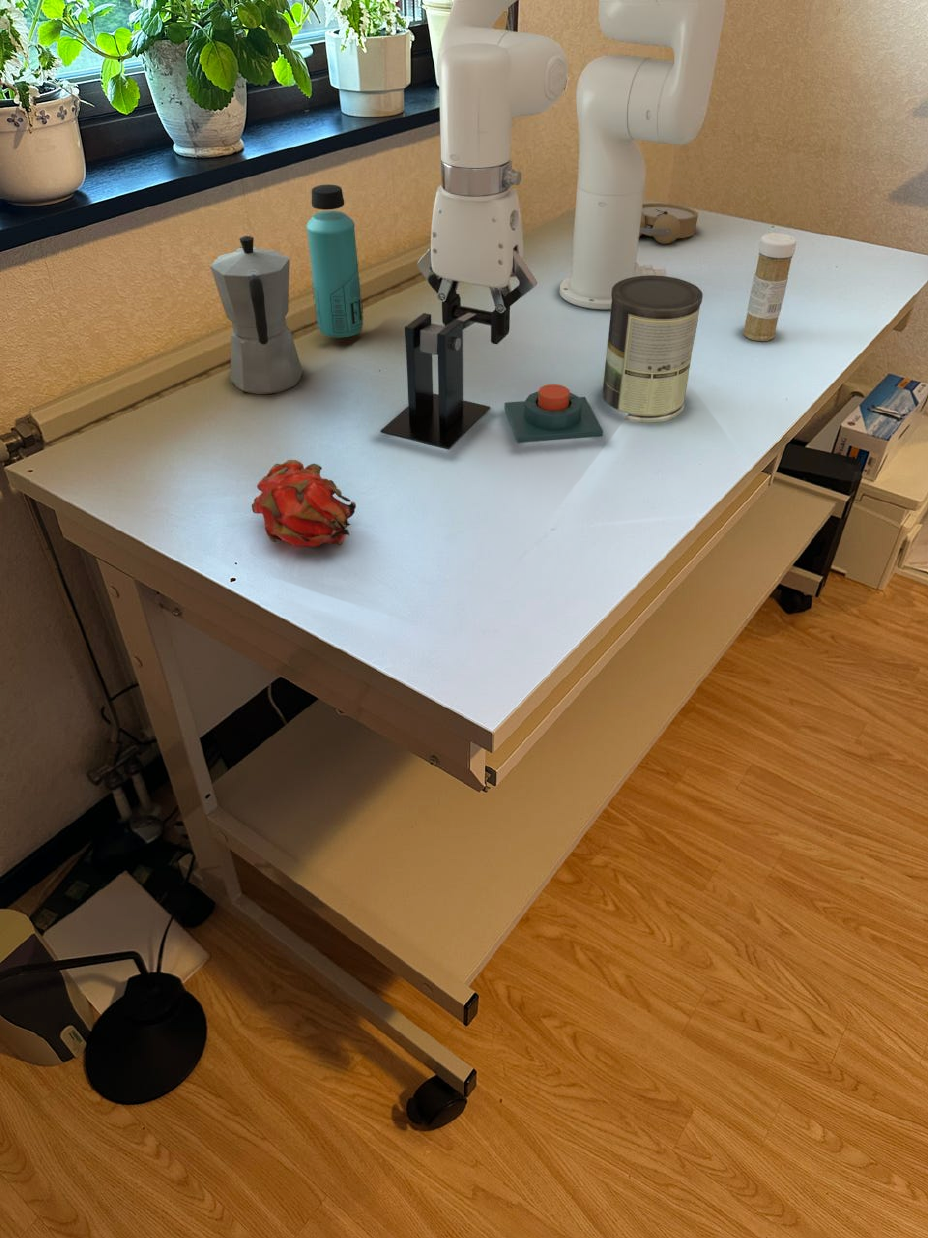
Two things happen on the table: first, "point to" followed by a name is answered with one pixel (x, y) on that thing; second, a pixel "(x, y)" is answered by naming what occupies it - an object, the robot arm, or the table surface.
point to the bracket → (428, 412)
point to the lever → (459, 313)
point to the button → (553, 397)
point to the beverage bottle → (334, 265)
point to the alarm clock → (667, 221)
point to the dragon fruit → (302, 506)
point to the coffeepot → (258, 318)
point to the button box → (552, 420)
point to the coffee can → (650, 346)
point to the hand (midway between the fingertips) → (475, 333)
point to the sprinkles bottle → (769, 286)
